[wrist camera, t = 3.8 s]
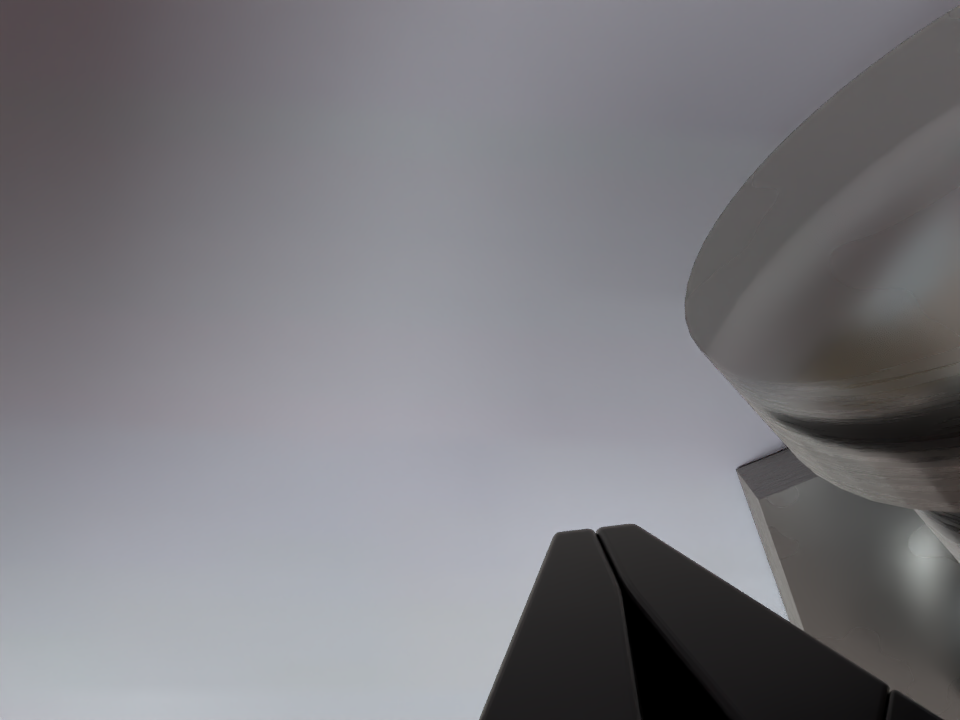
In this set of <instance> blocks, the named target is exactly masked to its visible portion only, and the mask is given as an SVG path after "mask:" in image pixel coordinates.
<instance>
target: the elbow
mask: <svg viewBox="0 0 960 720" xmlns="http://www.w3.org/2000/svg"><path fill="white" fill-rule="evenodd" d="M685 319H686V323H687V326H688V329H689V332H690V335H691V337H692V338H693V340H694V341H695V343H696V344H697V346H698V347H699V349H700V350H701V351H702V352H703V353H704V355H705V356H706V357H707V358H708V359H709V360H710V361H711V362H712V363H713V365H714V366H715V367H716V368H717V369H718V370H719V371H720V372H721V373H722V375H723V376H724V377H725V378H726V379H727V380H728V381H729V382H730V384H731V385H732V386H733V387H734V388H735V389H736V390H737V391H738V392H739V394H740V395H741V396H742V397H743V398H744V399H745V400H746V401H747V402H748V404H749V405H750V406H751V407H752V408H753V409H754V410H755V411H756V413H757V414H758V415H759V416H760V417H761V418H762V419H763V420H764V421H765V423H766V424H767V425H768V426H769V427H770V428H771V429H772V430H773V432H774V433H775V434H776V435H777V436H778V437H779V438H780V439H781V440H782V442H783V443H784V444H785V445H786V446H787V447H788V448H789V449H790V450H791V452H792V453H793V454H794V455H795V456H796V457H797V458H798V459H799V460H800V461H801V462H802V463H803V464H804V465H806V466H807V467H808V468H809V469H810V470H811V471H813V472H814V473H815V474H816V475H817V476H819V477H821V478H822V479H824V480H826V481H828V482H829V483H831V484H833V485H835V486H836V487H838V488H840V489H842V490H844V491H847V492H850V493H853V494H855V495H858V496H861V497H863V498H866V499H869V500H872V501H875V502H880V503H885V504H890V505H894V506H899V507H904V508H909V509H914V511H915V512H916V513H917V514H918V515H919V516H920V518H921V519H922V520H923V521H924V522H925V523H926V525H927V526H928V527H929V528H930V529H931V530H932V532H933V533H934V534H935V535H936V536H937V537H938V539H939V540H940V541H941V542H942V543H943V544H944V546H945V547H946V548H947V549H948V550H949V551H950V552H951V554H952V555H953V556H954V557H955V558H956V559H957V561H958V562H959V563H960V5H958V6H957V7H955V8H954V9H952V10H951V11H949V12H947V13H946V14H944V15H943V16H941V17H939V18H938V19H936V20H935V21H933V22H932V23H930V24H929V25H927V26H926V27H925V28H923V29H922V30H920V31H919V32H917V33H916V34H914V35H913V36H911V37H910V38H908V39H907V40H905V41H904V42H902V43H901V44H900V45H898V46H897V47H896V48H894V49H893V50H892V51H890V52H889V53H887V54H886V55H885V56H883V57H882V58H881V59H879V60H878V61H877V62H875V63H874V64H872V65H871V66H870V67H869V68H867V69H866V70H865V71H864V72H862V73H861V74H860V75H858V76H857V77H856V78H855V79H853V80H852V81H851V82H850V83H848V84H847V85H846V86H844V87H843V88H842V89H841V90H840V91H838V92H837V93H836V94H835V95H834V96H833V97H831V98H830V99H829V100H828V101H827V102H826V103H824V104H823V105H822V106H821V107H820V108H819V109H817V110H816V111H815V112H814V113H813V114H812V115H811V116H810V117H809V118H807V119H806V120H805V121H804V122H803V123H802V124H801V125H800V126H799V127H798V128H797V129H796V130H794V131H793V132H792V133H791V134H790V135H789V136H788V137H787V138H786V139H785V140H784V141H783V142H782V143H781V144H780V145H779V146H778V147H777V148H776V149H775V150H774V151H773V152H772V153H771V154H770V155H769V156H768V158H767V159H766V160H765V161H764V162H763V163H762V164H761V165H760V166H759V168H758V169H757V170H756V171H755V172H754V173H753V174H752V175H751V176H750V178H749V179H748V180H747V181H746V182H745V184H744V185H743V186H742V187H741V189H740V190H739V191H738V192H737V194H736V195H735V196H734V197H733V199H732V200H731V201H730V203H729V204H728V206H727V207H726V208H725V210H724V211H723V213H722V214H721V215H720V217H719V218H718V220H717V221H716V223H715V224H714V226H713V228H712V230H711V231H710V233H709V235H708V236H707V238H706V240H705V241H704V243H703V245H702V247H701V250H700V252H699V254H698V256H697V258H696V260H695V262H694V265H693V268H692V271H691V274H690V277H689V281H688V284H687V290H686V297H685Z"/></svg>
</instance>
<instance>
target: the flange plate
mask: <svg viewBox="0 0 960 720" xmlns="http://www.w3.org/2000/svg"><path fill="white" fill-rule="evenodd" d="M736 471H737V474H738V477H739V480H740V483H741V485H742V488H743V491H744V494H745V497H746V499H747V502H748V505H749V508H750V511H751V514H752V516H753V519H754V522H755V525H756V528H757V530H758V533H759V536H760V539H761V542H762V544H763V547H764V550H765V553H766V556H767V559H768V561H769V564H770V567H771V570H772V573H773V575H774V578H775V581H776V584H777V587H778V590H779V592H780V595H781V598H782V601H783V604H784V606H785V609H786V612H787V615H788V618H789V620H790V623H792V624H793V625H795V626H797V627H798V628H800V629H801V630H803V631H804V632H806V633H808V634H809V635H811V636H812V637H814V638H815V639H817V640H819V641H820V642H822V643H823V644H825V645H826V646H828V647H830V648H831V649H833V650H834V651H836V652H837V653H839V654H841V655H842V656H844V657H845V658H847V659H848V660H850V661H852V662H853V663H855V664H856V665H858V666H859V667H861V668H863V669H864V670H866V671H867V672H869V673H871V674H872V675H874V676H875V677H877V678H878V679H880V680H882V681H883V682H885V683H886V684H887V685H888V686H889V688H890V691H892V690H898V691H899V692H901V693H903V694H904V695H906V696H907V697H909V698H910V699H912V700H914V701H915V702H917V703H918V704H920V705H921V706H923V707H925V708H926V709H928V710H929V711H931V712H932V713H934V714H936V715H937V716H939V717H941V718H942V719H944V720H960V563H959V562H958V561H957V559H956V558H955V557H954V556H953V555H952V554H951V552H950V551H949V550H948V549H947V548H946V547H945V546H944V544H943V543H942V542H941V541H940V540H939V539H938V537H937V536H936V535H935V534H934V533H933V532H932V530H931V529H930V528H929V527H928V526H927V525H926V523H925V522H924V521H923V520H922V519H921V518H920V516H919V515H918V514H917V513H916V512H915V511H914V509H909V508H904V507H899V506H894V505H890V504H885V503H880V502H875V501H872V500H869V499H866V498H863V497H861V496H858V495H855V494H853V493H850V492H847V491H844V490H842V489H840V488H838V487H836V486H835V485H833V484H831V483H829V482H828V481H826V480H824V479H822V478H821V477H819V476H817V475H816V474H815V473H814V472H813V471H811V470H810V469H809V468H808V467H807V466H806V465H804V464H803V463H802V462H801V461H800V460H799V459H798V458H797V457H796V456H795V455H794V454H793V453H792V452H791V450H790V449H787V450H784V451H782V452H779V453H776V454H774V455H771V456H769V457H766V458H764V459H761V460H759V461H756V462H754V463H751V464H749V465H746V466H744V467H741V468H739V469H736Z"/></svg>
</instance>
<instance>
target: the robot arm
mask: <svg viewBox="0 0 960 720" xmlns="http://www.w3.org/2000/svg"><path fill="white" fill-rule="evenodd" d="M479 720H944V719H942V718H941V717H939V716H937V715H936V714H934V713H932V712H931V711H929V710H928V709H926V708H925V707H923V706H921V705H920V704H918V703H917V702H915V701H914V700H912V699H910V698H909V697H907V696H906V695H904V694H903V693H901V692H899V691H898V690H892V691H890V688H889V686H888V685H887V684H886V683H885V682H883V681H882V680H880V679H878V678H877V677H875V676H874V675H872V674H871V673H869V672H867V671H866V670H864V669H863V668H861V667H859V666H858V665H856V664H855V663H853V662H852V661H850V660H848V659H847V658H845V657H844V656H842V655H841V654H839V653H837V652H836V651H834V650H833V649H831V648H830V647H828V646H826V645H825V644H823V643H822V642H820V641H819V640H817V639H815V638H814V637H812V636H811V635H809V634H808V633H806V632H804V631H803V630H801V629H800V628H798V627H797V626H795V625H793V624H792V623H790V622H789V621H787V620H786V619H784V618H782V617H781V616H779V615H778V614H776V613H775V612H773V611H771V610H770V609H768V608H767V607H765V606H764V605H762V604H760V603H759V602H757V601H756V600H754V599H753V598H751V597H749V596H748V595H746V594H745V593H743V592H741V591H740V590H738V589H737V588H735V587H734V586H732V585H730V584H729V583H727V582H726V581H724V580H723V579H721V578H719V577H718V576H716V575H715V574H713V573H712V572H710V571H708V570H707V569H705V568H704V567H702V566H701V565H699V564H697V563H696V562H694V561H693V560H691V559H690V558H688V557H686V556H685V555H683V554H682V553H680V552H679V551H677V550H675V549H674V548H672V547H671V546H669V545H668V544H666V543H664V542H663V541H661V540H660V539H658V538H657V537H655V536H653V535H652V534H650V533H649V532H647V531H646V530H644V529H642V528H641V527H639V526H637V525H635V524H624V525H615V526H607V527H601V528H599V529H598V530H597V531H596V533H595V532H594V531H593V530H591V529H581V530H572V531H564V532H558V533H556V534H555V535H554V537H553V539H552V541H551V544H550V546H549V549H548V551H547V553H546V556H545V558H544V561H543V563H542V566H541V568H540V571H539V573H538V576H537V578H536V581H535V583H534V586H533V588H532V590H531V593H530V595H529V598H528V600H527V603H526V605H525V608H524V610H523V613H522V615H521V618H520V620H519V623H518V625H517V627H516V630H515V632H514V635H513V637H512V640H511V642H510V645H509V647H508V650H507V652H506V655H505V657H504V659H503V662H502V664H501V667H500V669H499V672H498V674H497V677H496V679H495V682H494V684H493V687H492V689H491V692H490V694H489V696H488V699H487V701H486V704H485V706H484V709H483V711H482V714H481V716H480V719H479Z"/></svg>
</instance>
